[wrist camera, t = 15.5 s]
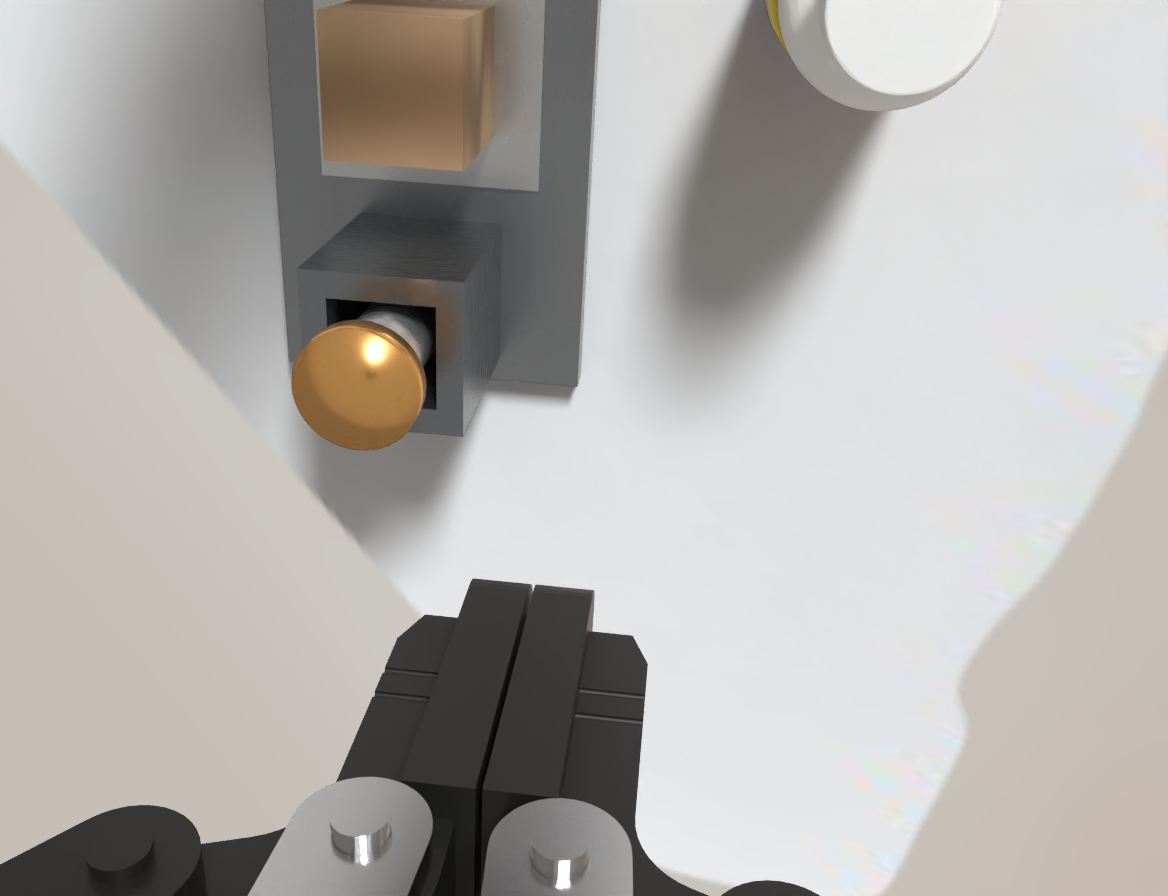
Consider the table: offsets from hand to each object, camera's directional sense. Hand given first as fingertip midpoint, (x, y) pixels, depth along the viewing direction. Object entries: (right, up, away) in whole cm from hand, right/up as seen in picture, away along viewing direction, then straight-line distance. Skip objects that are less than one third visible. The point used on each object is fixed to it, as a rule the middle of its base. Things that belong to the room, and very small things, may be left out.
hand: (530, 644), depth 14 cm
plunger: (-6, +9, +34) cm, 35 cm away
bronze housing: (-5, +17, +30) cm, 35 cm away
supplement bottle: (+11, +20, +28) cm, 36 cm away
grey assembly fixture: (-6, +14, +33) cm, 36 cm away
